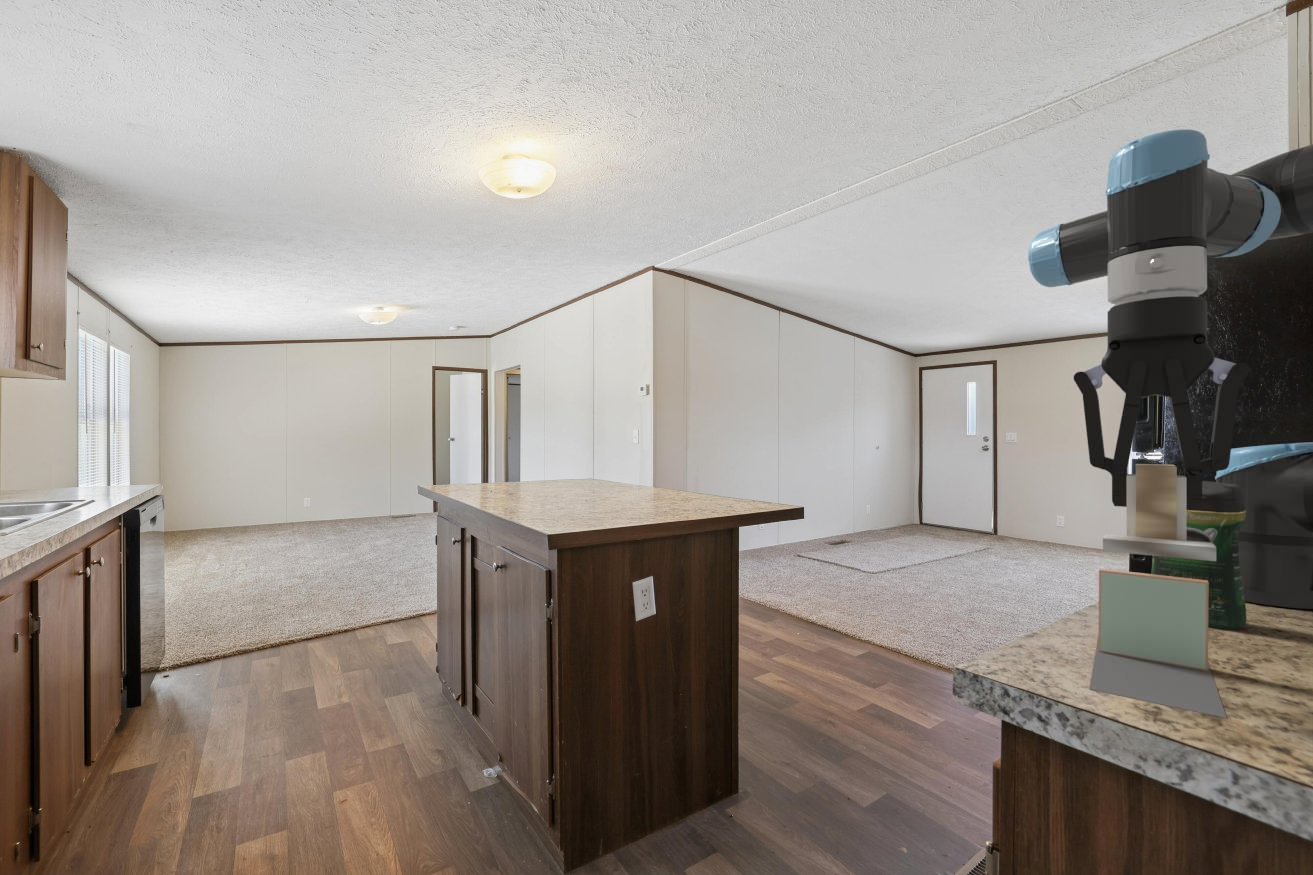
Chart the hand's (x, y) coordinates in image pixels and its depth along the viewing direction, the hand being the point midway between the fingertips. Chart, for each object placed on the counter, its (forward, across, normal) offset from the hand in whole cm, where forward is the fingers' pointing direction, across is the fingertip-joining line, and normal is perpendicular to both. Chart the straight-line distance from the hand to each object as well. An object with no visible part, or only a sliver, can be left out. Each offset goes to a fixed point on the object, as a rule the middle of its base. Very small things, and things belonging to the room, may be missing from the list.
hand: (1155, 541), depth 60 cm
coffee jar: (+15, +5, +30) cm, 33 cm away
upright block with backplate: (+1, 0, 0) cm, 1 cm away
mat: (+14, 0, +5) cm, 15 cm away
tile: (+14, 0, +7) cm, 15 cm away
